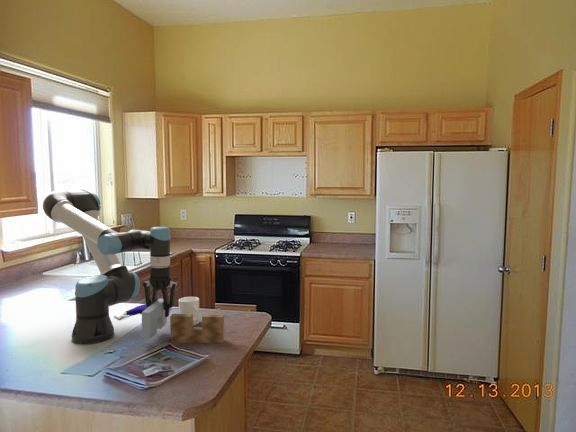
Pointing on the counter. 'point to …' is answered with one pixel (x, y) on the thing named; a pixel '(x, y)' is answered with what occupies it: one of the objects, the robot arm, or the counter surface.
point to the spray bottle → (131, 311)
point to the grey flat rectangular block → (152, 319)
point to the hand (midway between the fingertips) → (160, 324)
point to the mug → (190, 307)
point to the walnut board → (197, 329)
